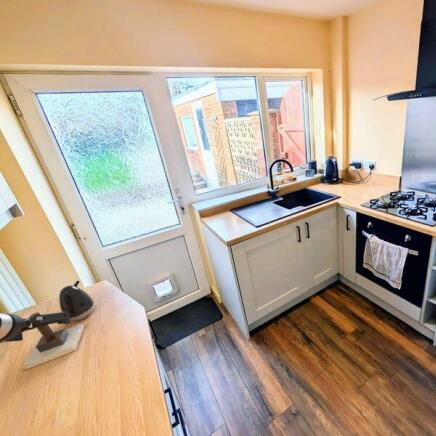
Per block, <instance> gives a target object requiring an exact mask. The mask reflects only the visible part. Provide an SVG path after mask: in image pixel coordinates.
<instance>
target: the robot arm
mask: <svg viewBox="0 0 436 436" xmlns="http://www.w3.org/2000/svg"><path fill="white" fill-rule="evenodd" d="M53 324H57V325H69V324H71V320H70V317H69V316H68V313H67V312H62V311H61V312H60V311H59V312H54V313H45V314H40V315H35V317H34V318H29V317H28V318H23V317H21V316H20V315H18V314H16V313H15V314H14V313H3V312H2V313H1V312H0V344H2V343H4V342H5V343H8V342H9V343H11V342H22V341H23V340H24V337H23V333H24V332H28V331H32V330H35V329H37V328H36V327H39V326H44V325H48V326H50V325H53Z"/></svg>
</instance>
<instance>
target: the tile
mask: <svg viewBox="0 0 436 436" xmlns="http://www.w3.org/2000/svg"><path fill="white" fill-rule="evenodd" d="M64 329H65V330H66V331H67V333H68V336H67V338H66V341H65V343H64V344H63V345H60V346H57V347H55V348H52V349H49V350H46V351H43V352H41V353H40V352H39V351H38V350H37V348H36V345H37V344H38V342H39V340H40V338H37V340H36V341H35V343H34V345H33V347H32V348H31V351H30V352H29V354H28V356H27V358H26V359H25V361H24V363H23V364H22V366H23V367H24V369H25V370H29V369H32V368H34V367H36V366H39V365H41V364H44V363H46V362H49V361H52V360H54V359H57V358H59V357H62V356H65V355H68V354H69V353H72V352H75V351H76V350H77V348H78V345H79V342H80V339H81V337H82V334H83V332H84V329H85V326H84V324H83V323H79V324H76V325H73V326H71V327H67V328H64Z"/></svg>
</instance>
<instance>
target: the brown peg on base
mask: <svg viewBox="0 0 436 436" xmlns="http://www.w3.org/2000/svg"><path fill="white" fill-rule="evenodd" d="M35 315H41V313H40V312H39V311H38V312H34V313H32V314H31V315H30V316H29V317H28V318H34V317H35ZM35 329H37V330H38V332H39V333H40V334H41V335H42V336H41V337H40V338H39V339H40V340H39V342H38V344H37V345H36V348H37V350H38V351H39V352H40V353H41V352H43V351H46V350H49V349H52V348H55V347H57V346H60V345H63V344H64V343H65V341H66V338H67V336H68V333H67V331H66V330H65V329H66V328H63V329H59V330H56V331H53V330H52V328H51V327H50V325H44V326H39V327H36V328H35Z"/></svg>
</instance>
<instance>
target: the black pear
mask: <svg viewBox="0 0 436 436" xmlns="http://www.w3.org/2000/svg"><path fill="white" fill-rule="evenodd" d="M79 284H80V280H76V281H75V283H74V284H73V285H72V284H71V285H66V286H64V287H63V288H62V289H61V290H60V292H59V294H58V302H59V308H60V311H61V312H67V313H68V316H69V317H70V321H81V320H83V319H85V318H86V317H88V316H89V315H91V313H92V312H93V310H94V306H95V305H94V304H95V302H94V300H93V298H92V297H91V296H90V295H89V294H88V293H87V292H86V291H85V290H83V289H82V288H81V287H79Z"/></svg>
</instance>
